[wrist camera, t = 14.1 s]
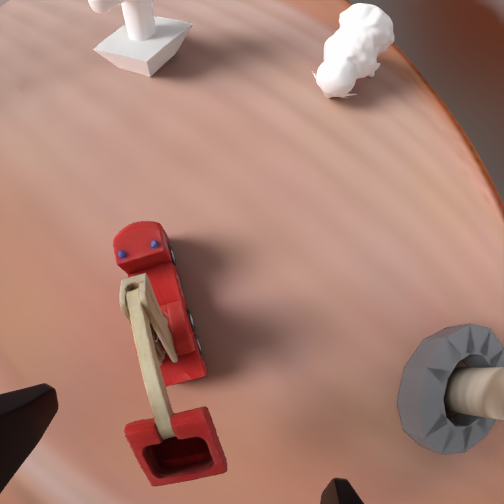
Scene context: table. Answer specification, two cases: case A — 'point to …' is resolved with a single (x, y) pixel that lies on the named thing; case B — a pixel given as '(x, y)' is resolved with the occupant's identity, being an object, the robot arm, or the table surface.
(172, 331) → the toy fire truck
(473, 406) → the birch peg
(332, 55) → the white animal statue
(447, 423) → the grey ring
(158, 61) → the figurine
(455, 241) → the table surface
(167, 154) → the table surface
